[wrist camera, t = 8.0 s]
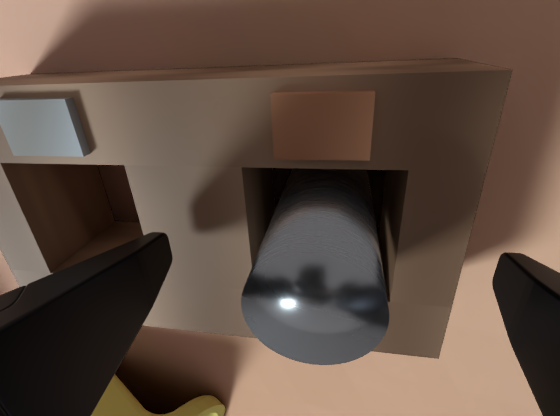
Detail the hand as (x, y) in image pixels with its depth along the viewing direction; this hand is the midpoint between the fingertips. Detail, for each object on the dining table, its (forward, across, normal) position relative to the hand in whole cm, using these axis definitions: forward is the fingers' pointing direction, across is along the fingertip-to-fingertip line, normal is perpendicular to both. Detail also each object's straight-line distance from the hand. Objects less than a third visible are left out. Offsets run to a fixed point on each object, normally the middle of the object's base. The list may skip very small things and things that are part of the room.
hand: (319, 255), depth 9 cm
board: (+5, +4, 0) cm, 6 cm away
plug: (+5, 0, 0) cm, 5 cm away
